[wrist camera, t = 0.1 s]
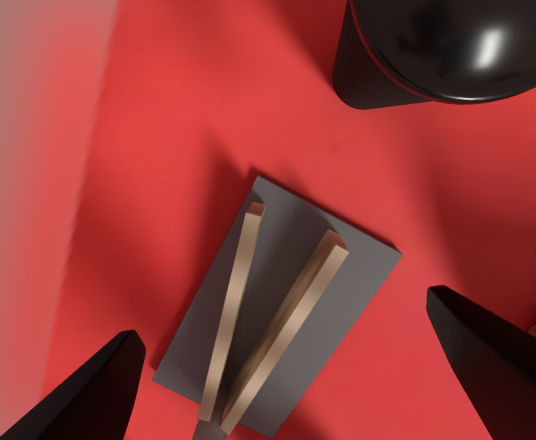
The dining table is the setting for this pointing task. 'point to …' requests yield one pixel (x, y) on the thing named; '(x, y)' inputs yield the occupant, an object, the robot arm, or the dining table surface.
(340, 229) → the serving board
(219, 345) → the tongs arm
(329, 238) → the arm
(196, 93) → the dining table surface
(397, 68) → the drinking cup
